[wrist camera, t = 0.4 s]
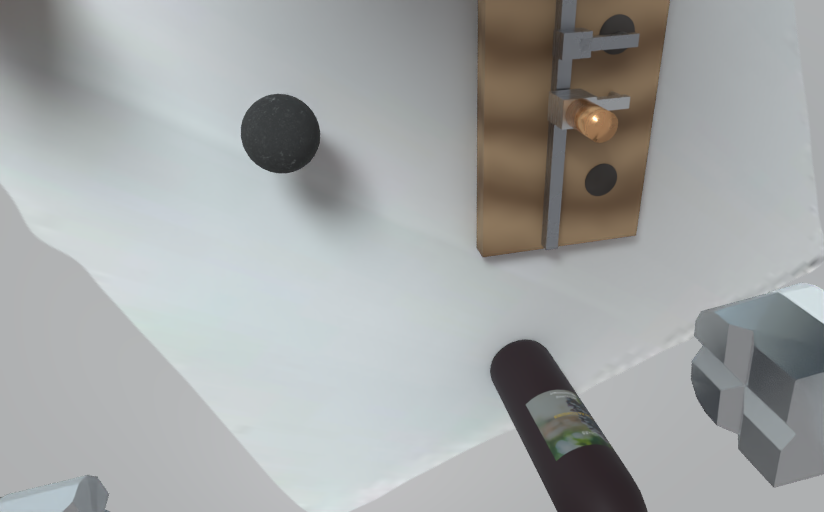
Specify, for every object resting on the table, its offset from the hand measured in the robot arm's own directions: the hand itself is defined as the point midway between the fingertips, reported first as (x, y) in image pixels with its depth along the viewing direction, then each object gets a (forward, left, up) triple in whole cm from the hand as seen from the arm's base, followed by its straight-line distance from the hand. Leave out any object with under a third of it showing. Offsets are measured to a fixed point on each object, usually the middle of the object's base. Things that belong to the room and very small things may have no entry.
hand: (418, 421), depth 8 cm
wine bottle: (+38, +20, -46) cm, 63 cm away
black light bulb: (+7, -2, -46) cm, 46 cm away
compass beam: (+10, +23, -43) cm, 50 cm away
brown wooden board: (+10, +23, -45) cm, 52 cm away
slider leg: (+8, +23, -43) cm, 50 cm away
